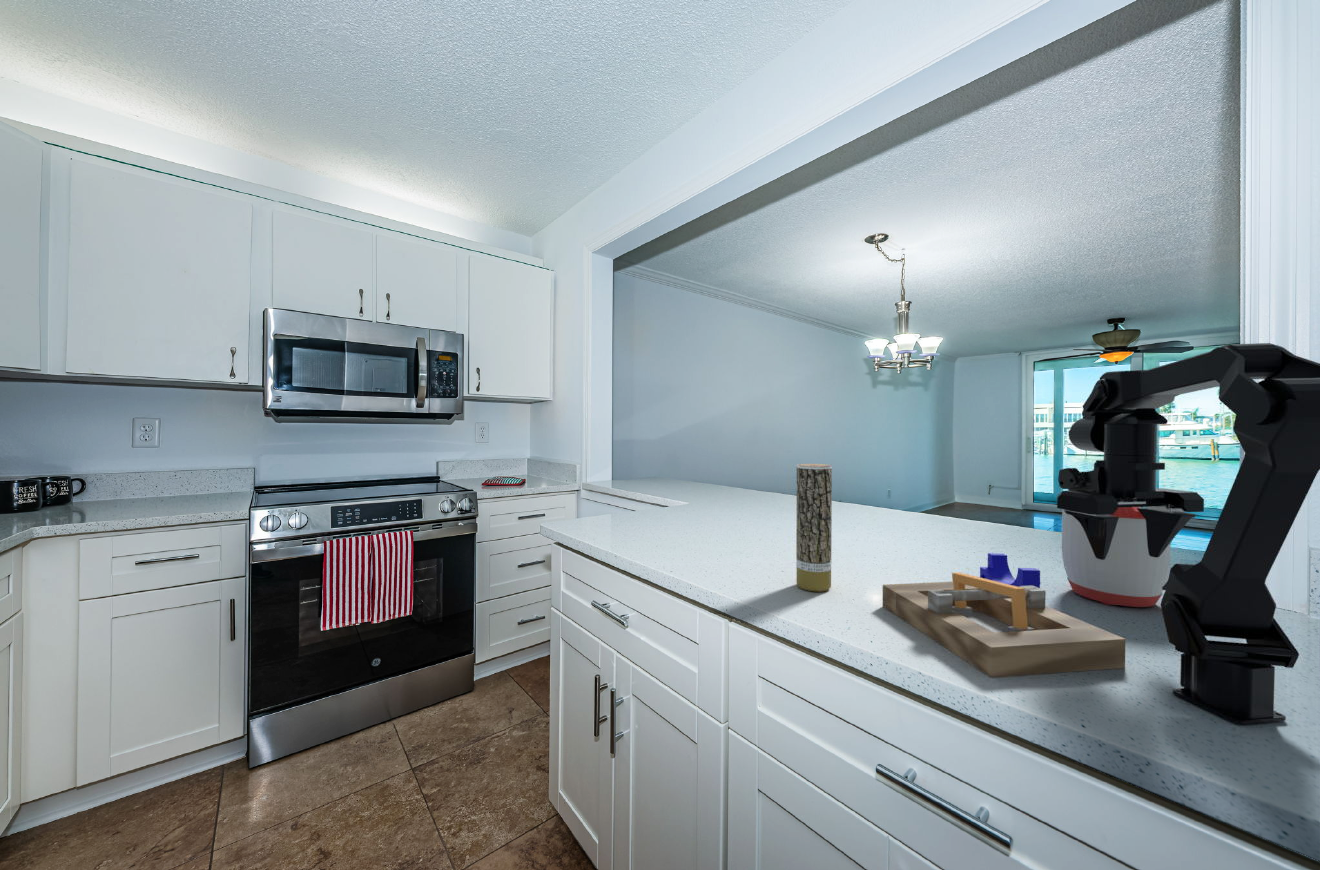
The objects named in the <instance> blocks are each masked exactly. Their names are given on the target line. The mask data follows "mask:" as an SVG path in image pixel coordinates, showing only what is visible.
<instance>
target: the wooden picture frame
mask: <svg viewBox="0 0 1320 870" xmlns="http://www.w3.org/2000/svg"><path fill="white" fill-rule="evenodd" d="M1019 587H1021V588H1025V595H1026V598H1025V601H1026V612H1027V623H1028V627H1031V628H1034V629H1035V630H1033V631H1016V632H1007V631H1003V632H994V631H993V630H990V629H989V628H987V627H984V626H983V625H981V624H979V623H977V622H975V621H974V620H972V619H970V618H968V617H967V616H963V615H961V614H959V613H957V612H955V611H953V606H955V601H966V605H967V607H970V608H973V612H976V611H979V612H982V613H983V614H985V615H988V616H990V617H991V618H994V619H996V620H998V621H1000V622H1002V623H1003V624H1006V625H1008V626H1009V627H1012V626H1013V614H1012V603H1011V597H1009V596H1005V595H1002V594H998V593H994V592H991V591H987V590H983V589H980V588H976V587H972V586H969V585H965V590H954V585H953V581H935V582H934V581H933V582H914V583H913V582H912V583H909V582H908V583H892V584H882V607H883V608H884V609H886V610H888V612H890V613H892V614H893V613H894V614H893V615H895V616H896V615H897V616H896V617H897V618H899V617H900V619H901V620H903V621H904V622H906V623H907V622H908V623H907V624H909V625H910V626H912V627H913V628H915V629H916V628H917V629H916V630H918V631H919V630H920V631H919V632H921V631H922V632H923V633H922V632H921V633H922V634H924V635H925V634H926V636H927V637H928V638H930V639H931V640H933V641H935V642H936V643H938V644H939V645H941V646H943V647H944V648H945V649H946V650H949V651H950V652H951V651H952V653H953V654H954V653H955V654H954V655H956V656H957V655H958V656H957V657H959V658H960V659H962V660H964V661H965V660H966V661H965V662H966V663H968V662H969V663H968V664H970V665H971V664H972V665H971V666H972V667H975V668H976V669H977V668H978V670H979V671H980V670H981V671H980V672H982V671H983V672H982V673H983V674H985V673H986V674H987V676H988V675H989V676H988V677H990V678H1002V677H1017V676H1030V675H1031V676H1032V675H1044V674H1059V673H1072V672H1073V673H1074V672H1087V671H1102V670H1113V669H1114V670H1115V669H1117V670H1119V669H1125V668H1126V638H1124V637H1122V636H1120V635H1117V634H1114V633H1112V632H1110V631H1107V630H1105V629H1102V628H1100V627H1098V626H1096V625H1092V624H1090V623H1088V622H1087V621H1083V620H1081V619H1078V618H1076V617H1074V616H1071V615H1068V614H1067V613H1064V612H1061V611H1058V610H1056V609H1054V608H1051V607H1049V606H1046V597H1047V596H1046V595H1047V594H1046V592H1047V591H1046V589H1042V588H1041V587H1040V588H1038V587H1035V586H1019ZM986 674H985V675H986Z"/></svg>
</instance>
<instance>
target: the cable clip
mask: <svg viewBox="0 0 1320 870" xmlns="http://www.w3.org/2000/svg"><path fill="white" fill-rule="evenodd" d="M1008 562H1009V561H1008V555H1007V554H1006V553H1000V552H999V553H998V552H997V553H996V552H994V553H993V552H988V553H987V566H980V567H979V577H980V578H984V579H988V580H992V581H996V582H1000V583H1004V584H1009V585H1013V586H1017V587H1019V586H1035V587H1038V588H1040V589H1041V570H1040V569H1037V568H1035V567H1018V568H1017V575H1016V576H1015V577H1016V578H1014V576H1013V574H1012V572H1011V570H1010V566H1009V563H1008Z"/></svg>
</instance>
